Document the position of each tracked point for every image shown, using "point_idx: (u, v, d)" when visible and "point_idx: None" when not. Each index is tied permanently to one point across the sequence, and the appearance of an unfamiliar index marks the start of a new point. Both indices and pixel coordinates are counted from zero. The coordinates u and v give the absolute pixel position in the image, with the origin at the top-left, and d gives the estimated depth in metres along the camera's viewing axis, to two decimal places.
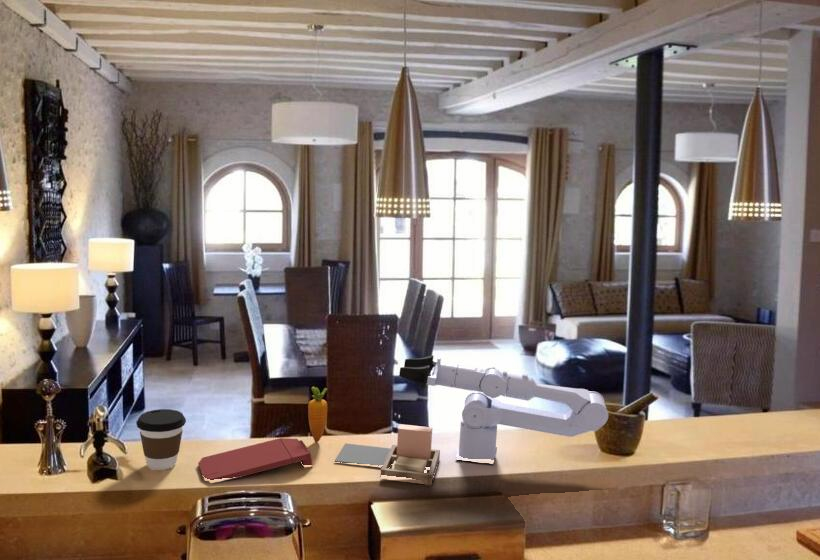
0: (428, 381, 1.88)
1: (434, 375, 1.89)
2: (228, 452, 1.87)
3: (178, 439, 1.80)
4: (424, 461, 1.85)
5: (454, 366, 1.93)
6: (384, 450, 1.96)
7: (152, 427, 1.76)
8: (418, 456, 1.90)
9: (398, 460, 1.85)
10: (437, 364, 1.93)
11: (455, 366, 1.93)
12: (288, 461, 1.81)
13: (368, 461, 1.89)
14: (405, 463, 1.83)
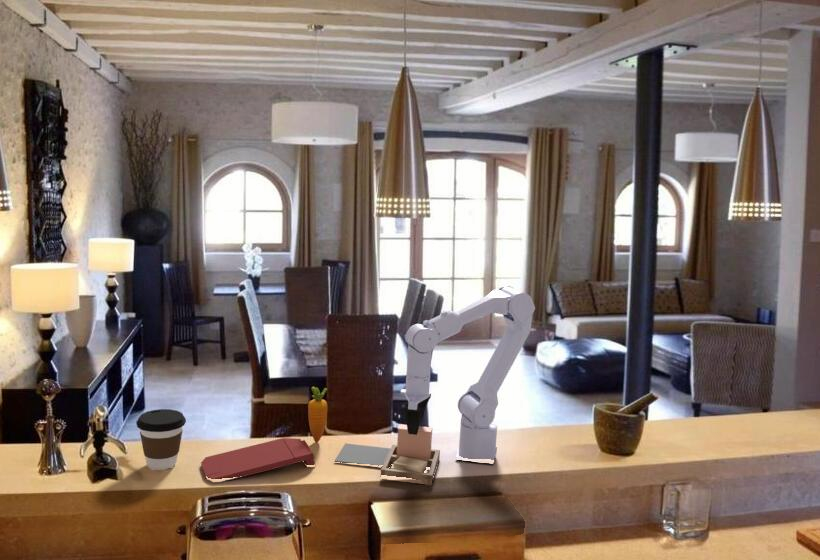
0: (412, 408, 1.82)
1: (408, 401, 1.83)
2: (231, 452, 1.87)
3: (178, 439, 1.80)
4: (424, 462, 1.84)
5: (406, 377, 1.87)
6: (384, 450, 1.96)
7: (152, 427, 1.76)
8: (418, 456, 1.90)
9: (398, 460, 1.85)
10: (405, 394, 1.87)
11: (406, 376, 1.87)
12: (290, 461, 1.81)
13: (368, 461, 1.89)
14: (404, 463, 1.83)
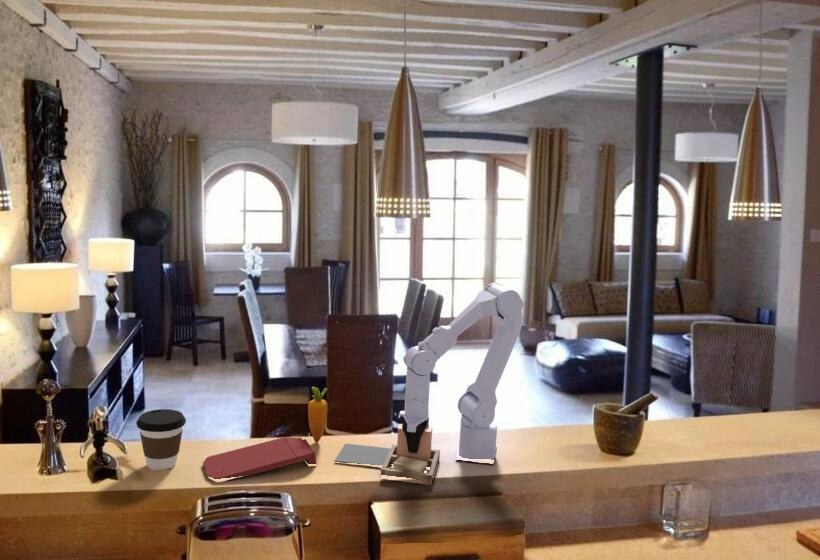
0: (411, 430, 1.83)
1: (407, 423, 1.84)
2: (232, 451, 1.88)
3: (178, 439, 1.80)
4: (424, 463, 1.84)
5: (405, 399, 1.88)
6: (384, 450, 1.96)
7: (152, 427, 1.76)
8: (418, 456, 1.90)
9: (398, 460, 1.85)
10: (404, 416, 1.88)
11: (405, 397, 1.88)
12: (292, 460, 1.82)
13: (368, 461, 1.89)
14: (404, 463, 1.83)
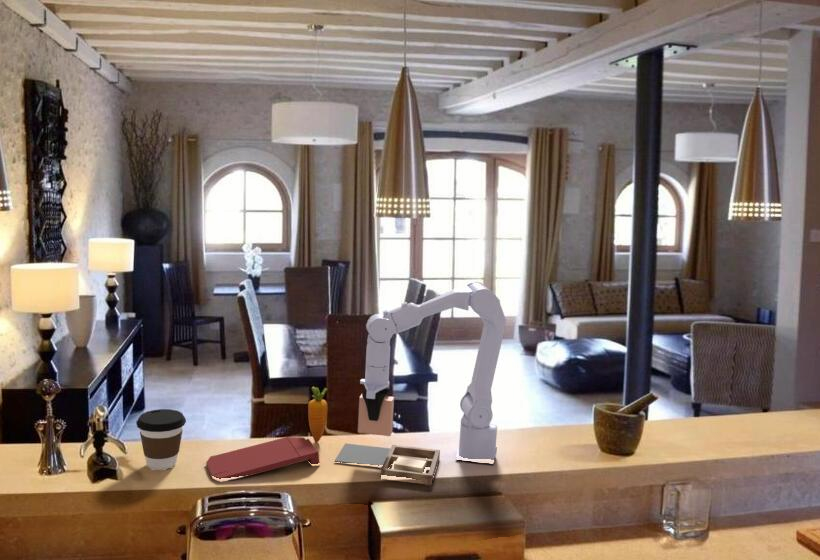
0: (370, 397, 1.83)
1: (367, 390, 1.84)
2: (236, 451, 1.88)
3: (178, 439, 1.80)
4: (424, 462, 1.84)
5: None
6: (384, 450, 1.96)
7: (152, 426, 1.76)
8: (379, 425, 1.90)
9: (398, 460, 1.84)
10: (364, 384, 1.88)
11: None
12: (296, 459, 1.82)
13: (368, 461, 1.89)
14: (405, 463, 1.83)
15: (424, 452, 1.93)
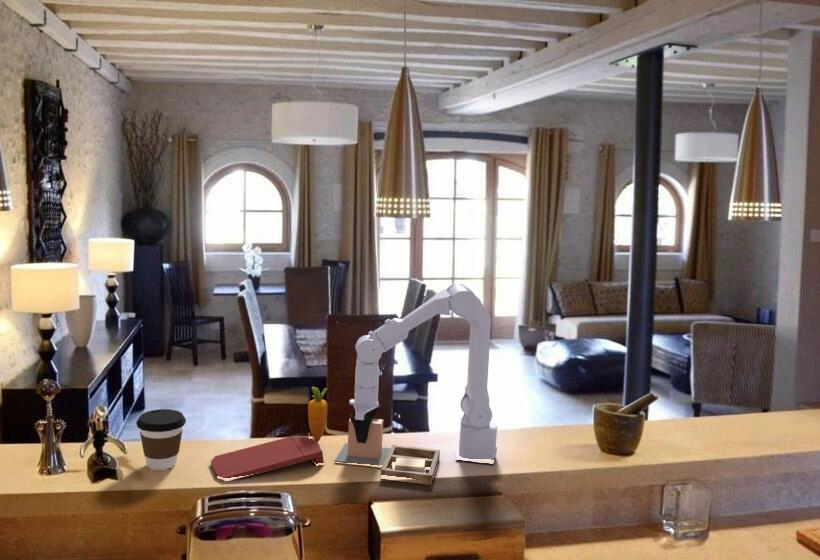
0: (359, 418, 1.84)
1: None
2: (240, 450, 1.88)
3: (178, 439, 1.80)
4: (423, 461, 1.85)
5: None
6: (384, 450, 1.96)
7: (152, 427, 1.76)
8: (369, 448, 1.91)
9: (397, 461, 1.84)
10: (353, 404, 1.90)
11: (355, 386, 1.90)
12: (300, 459, 1.83)
13: (368, 461, 1.89)
14: (405, 464, 1.83)
15: (424, 452, 1.93)
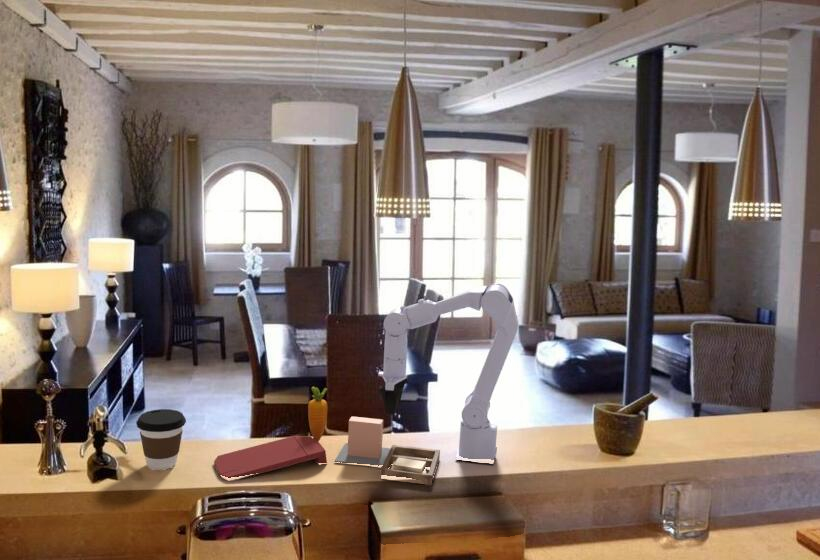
0: (389, 389, 1.90)
1: None
2: (243, 450, 1.89)
3: (178, 439, 1.80)
4: (423, 462, 1.84)
5: None
6: (384, 450, 1.96)
7: (152, 427, 1.76)
8: (369, 448, 1.91)
9: (397, 461, 1.84)
10: (382, 376, 1.96)
11: (384, 358, 1.96)
12: (303, 458, 1.83)
13: (368, 461, 1.89)
14: (404, 464, 1.82)
15: (424, 452, 1.93)
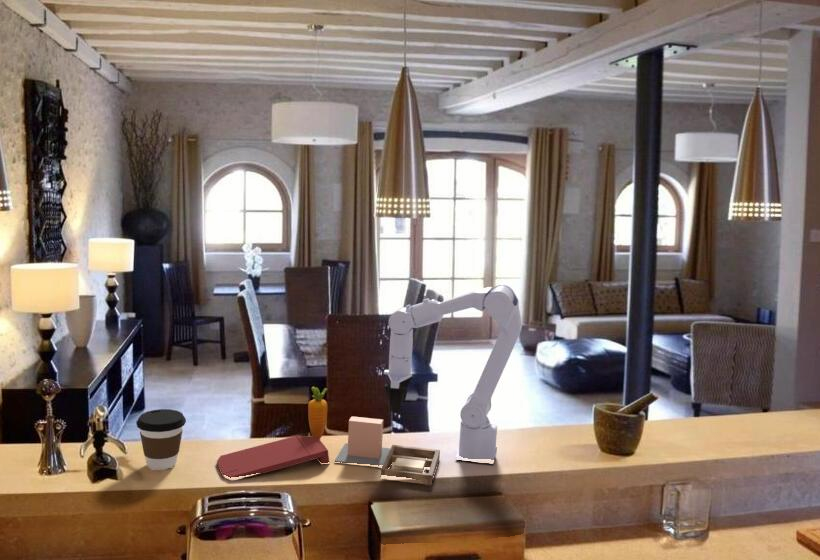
0: (394, 387, 1.91)
1: (391, 380, 1.93)
2: (246, 450, 1.89)
3: (178, 439, 1.80)
4: (423, 462, 1.84)
5: (389, 358, 1.97)
6: (384, 450, 1.96)
7: (152, 427, 1.76)
8: (369, 448, 1.91)
9: (397, 461, 1.84)
10: (388, 374, 1.97)
11: (389, 356, 1.97)
12: (306, 458, 1.83)
13: (368, 461, 1.89)
14: (404, 464, 1.82)
15: (424, 452, 1.93)
